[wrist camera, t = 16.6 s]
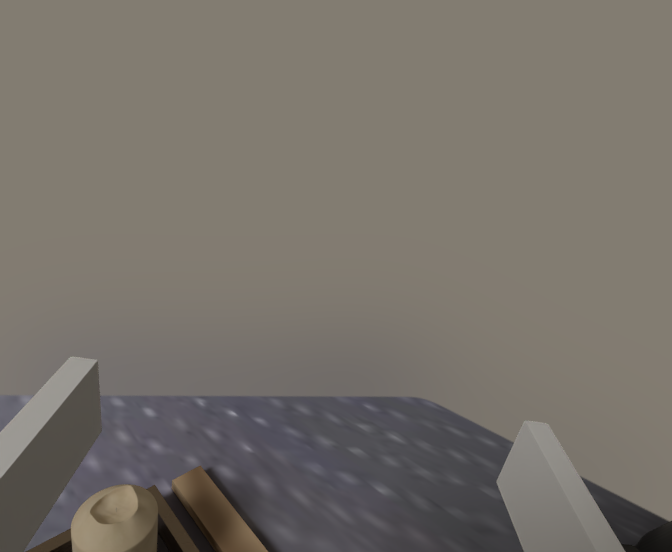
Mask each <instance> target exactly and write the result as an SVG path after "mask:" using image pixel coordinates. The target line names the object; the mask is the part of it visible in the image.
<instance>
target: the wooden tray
mask: <svg viewBox="0 0 672 552" xmlns="http://www.w3.org/2000/svg"><path fill="white" fill-rule="evenodd" d="M146 490H148V491H149V492H150V493H151V494H152V495H153V496H154V498H155V499H156V502H157V505H158V530H157V532H158V533H159V535H160V536H161V538H162V540H163V541H164V543H165V544H166V546H167V548H168V549H169V551H170V552H199V550H198V549H197V547H196V546H195V544H194V543H193V541H192V540H191V538H190V537H189V535H188V534H187V532H186V531H185V529H184V528H183V526H182V525H181V523H180V522H179V520H178V519H177V517H176V516H175V514H174V513H173V511H172V510H171V508H170V507H169V505H168V504H167V502H166V501H165V499H164V498H163V496H162V495H161V493H160V492H159V490H158V489H157V487H156V486H155V485H154V486H152V487H150V488H148V489H146ZM26 552H73V551H72V539H71V529H69V530H67V531H65V532H63V533H61V534H59V535H57V536H55V537H53V538H51V539H49V540H48V541H46V542H44V543H42V544H40V545H38V546H36V547H34V548H32V549H30V550H28V551H26Z"/></svg>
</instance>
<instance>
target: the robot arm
mask: <svg viewBox="0 0 672 552" xmlns="http://www.w3.org/2000/svg"><path fill="white" fill-rule="evenodd" d="M98 373H99V372H98V360H93V359H86V358H79V357H72V356H71V357H70V358H69V359H68V360H67V361H66V362H65V363H64V364H63V365H62V366H61V368H60V369H59V370H58V371H57V372H56V373H55V374H54V375H53V376H52V377H51V378H50V379H49V381H48V382H47V383H46V384H45V385H44V386H43V387H42V388H41V389H40V390H39V391H38V392H37V393H36V394H35V396H34V397H33V398H32V399H31V400H30V401H29V402H28V403H27V404H26V405H25V406H24V407H23V408H22V410H21V411H20V412H19V413H18V414H17V415H16V416H15V417H14V418H13V419H12V420H11V421H10V422H9V424H8V425H7V426H6V427H5V428H4V429H3V430H2V431H1V432H0V552H23V551H24V550H25V548H26V547H27V545H28V544H29V542H30V541H31V539H32V537H33V536H34V534H35V533H36V531H37V530H38V528H39V527H40V525H41V524H42V522H43V521H44V519H45V517H46V516H47V514H48V513H49V511H50V510H51V508H52V507H53V505H54V504H55V502H56V501H57V499H58V497H59V496H60V494H61V493H62V491H63V490H64V488H65V487H66V485H67V484H68V482H69V481H70V479H71V477H72V476H73V474H74V473H75V471H76V470H77V468H78V467H79V465H80V464H81V462H82V460H83V459H84V457H85V456H86V454H87V453H88V451H89V450H90V448H91V447H92V445H93V444H94V442H95V440H96V439H97V437H98V436H99V434H100V433H101V431H102V426H101V408H100V391H99V374H98ZM496 482H497V485H498V487H499V490H500V492H501V495H502V497H503V500H504V503H505V505H506V508H507V510H508V513H509V515H510V518H511V520H512V523H513V525H514V528H515V530H516V533H517V535H518V538H519V541H520V543H521V546H522V548H523V551H524V552H672V521H671V522H669V523H667V524H664V525H662V526H660V527H658V528H656V529H654V530H652V531H650V532H648V533H647V534H646V535H644V536H643V537H642V538H641V539H640V541H639V542H638V544H637V545H636V546H632V545H624V544H621V543H620V542H619V540H618V539H617V537H616V535H615V534H614V532H613V530H612V529H611V527H610V525H609V524H608V522H607V520H606V519H605V517H604V515H603V514H602V512H601V510H600V509H599V507H598V506H597V504H596V502H595V501H594V499H593V497H592V496H591V494H590V492H589V491H588V489H587V487H586V486H585V484H584V482H583V481H582V479H581V478H580V476H579V474H578V473H577V471H576V469H575V468H574V466H573V464H572V463H571V461H570V459H569V458H568V456H567V454H566V453H565V451H564V449H563V448H562V447H561V445H560V443H559V441H558V440H557V438H556V436H555V435H554V433H553V431H552V430H551V428H550V426H549V425H548V424H547V423H541V422H534V421H527V420H525V421H524V423H523V425H522V427H521V429H520V431H519V434H518V436H517V438H516V440H515V442H514V444H513V447H512V449H511V451H510V453H509V455H508V457H507V460H506V462H505V464H504V466H503V468H502V470H501V473H500V475H499V477H498V479H497V481H496Z"/></svg>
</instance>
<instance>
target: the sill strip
mask: <svg viewBox="0 0 672 552" xmlns="http://www.w3.org/2000/svg"><path fill="white" fill-rule="evenodd" d="M172 490H173V491H174V493H175V494H176V496H177V497H178V498H179V500H180V501H181V503H182V504H183V506H184V507H185V508H186V510H187V511H188V513H189V514H190V516H191V517H192V519H193V520H194V521H195V523H196V524H197V526H198V527H199V529H200V530H201V531H202V533H203V534H204V536H205V537H206V539H207V540H208V541H209V543H210V544H211V546H212V547H213V549H214V550H215V551H216V552H268V551H267V550H266V548H265V547H264V546H263V545H262V543H261V542H260V541H259V539H258V538H257V537H256V536H255V534H254V533H253V532H252V531H251V529H250V528H249V527H248V525H247V524H246V523H245V522H244V520H243V519H242V518H241V517H240V515H239V514H238V513H237V512H236V510H235V509H234V508H233V506H232V505H231V504H230V503H229V501H228V500H227V499H226V498H225V496H224V495H223V494H222V493H221V491H220V490H219V489H218V487H217V486H216V485H215V484H214V482H213V481H212V480H211V479H210V477H209V476H208V475H207V473H206V472H205V471H204V470H203V468H202V467H201V466H199V467H197V468H195V469H193V470H191V471H189V472H187V473H185V474H183V475H182V476H180V477H178V478H176V479H174V480H172Z"/></svg>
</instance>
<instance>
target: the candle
mask: <svg viewBox="0 0 672 552" xmlns="http://www.w3.org/2000/svg"><path fill="white" fill-rule="evenodd" d="M157 530H158V505H157V502H156V499H155V498H154V496H153V495H152V494H151V493H150V492H149V491H148V490H146V489H144V488H142V487H140V486H136V485H116V486H112V487H109V488H106V489H103V490H101V491H99V492H97V493H96V494H94V495H93V496H91V497H90V498H89V499H87V500H86V501H85V502H84V503H83V504H82V505H81V506H80V508H79V509H78V510H77V512H76V514H75V516H74V518H73V520H72V524H71V539H72V551H73V552H157Z"/></svg>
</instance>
